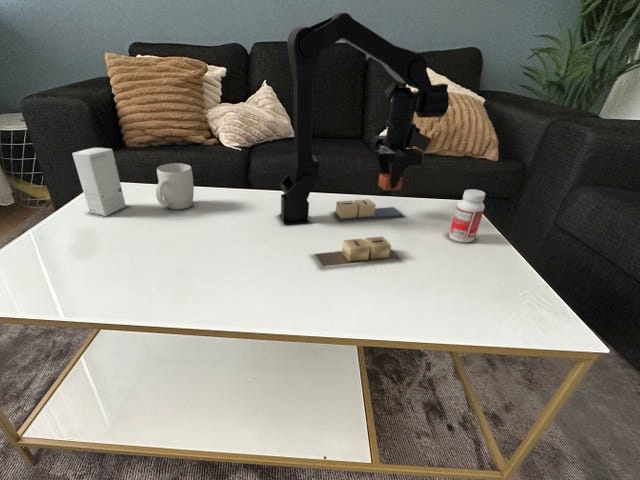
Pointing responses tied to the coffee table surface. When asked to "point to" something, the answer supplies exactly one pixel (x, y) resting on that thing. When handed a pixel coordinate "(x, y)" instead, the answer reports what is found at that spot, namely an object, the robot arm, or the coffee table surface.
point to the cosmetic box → (99, 180)
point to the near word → (359, 252)
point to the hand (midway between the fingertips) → (389, 185)
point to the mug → (175, 185)
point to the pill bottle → (467, 216)
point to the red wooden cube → (388, 182)
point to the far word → (363, 210)
